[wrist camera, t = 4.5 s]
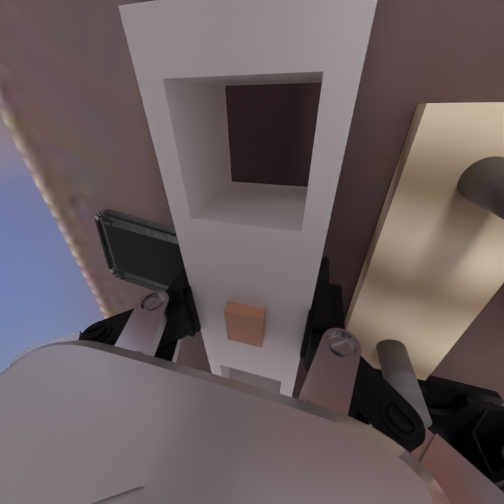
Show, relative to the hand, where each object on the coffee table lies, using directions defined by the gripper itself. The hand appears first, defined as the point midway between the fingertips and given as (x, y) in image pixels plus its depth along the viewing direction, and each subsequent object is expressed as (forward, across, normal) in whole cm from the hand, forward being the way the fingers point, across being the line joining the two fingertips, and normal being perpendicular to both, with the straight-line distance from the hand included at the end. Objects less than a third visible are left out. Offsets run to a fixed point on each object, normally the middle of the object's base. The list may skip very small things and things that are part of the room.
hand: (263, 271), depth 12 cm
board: (+5, -10, +2) cm, 11 cm away
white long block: (+1, 0, 0) cm, 1 cm away
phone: (+5, +10, +5) cm, 12 cm away
